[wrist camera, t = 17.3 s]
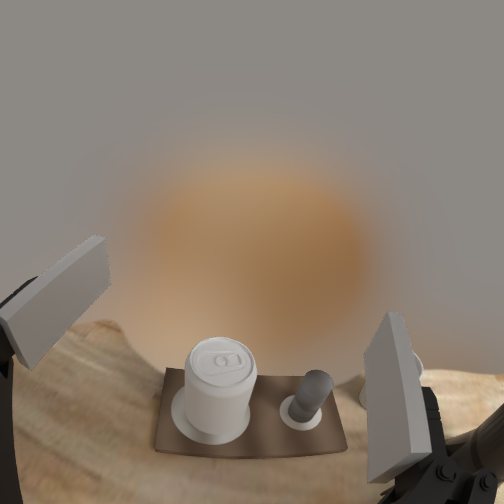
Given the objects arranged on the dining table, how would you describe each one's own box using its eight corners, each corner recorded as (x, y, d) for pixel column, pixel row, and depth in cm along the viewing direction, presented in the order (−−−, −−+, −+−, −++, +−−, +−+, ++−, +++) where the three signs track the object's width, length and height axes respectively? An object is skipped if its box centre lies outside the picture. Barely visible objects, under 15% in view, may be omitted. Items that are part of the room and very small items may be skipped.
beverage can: (180, 391, 38) (179, 336, 32) (234, 385, 41) (246, 330, 35) (191, 440, 32) (192, 395, 26) (251, 431, 34) (270, 383, 29)
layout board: (325, 379, 46) (345, 343, 41) (344, 451, 34) (374, 422, 29) (166, 371, 42) (164, 331, 38) (155, 451, 30) (147, 422, 26)
